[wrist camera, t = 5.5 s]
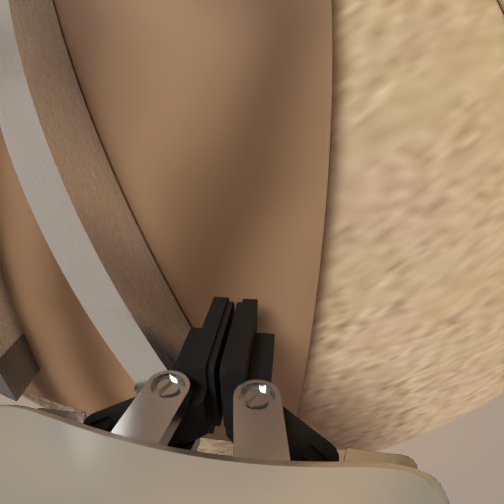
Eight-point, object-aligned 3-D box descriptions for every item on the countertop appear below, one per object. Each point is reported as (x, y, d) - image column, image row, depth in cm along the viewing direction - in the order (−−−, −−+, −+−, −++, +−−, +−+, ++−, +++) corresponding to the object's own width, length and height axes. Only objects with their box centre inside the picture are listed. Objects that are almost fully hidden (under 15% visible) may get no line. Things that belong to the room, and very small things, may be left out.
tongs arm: (-12, -22, 7) (-52, -30, 4) (39, -69, 6) (0, -86, 3) (158, 388, 16) (139, 434, 13) (223, 378, 15) (211, 431, 12)
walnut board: (26, 375, 20) (17, 387, 19) (-15, -60, 6) (-28, -63, 5) (292, 426, 18) (291, 445, 17) (311, -153, 5) (312, -169, 3)
